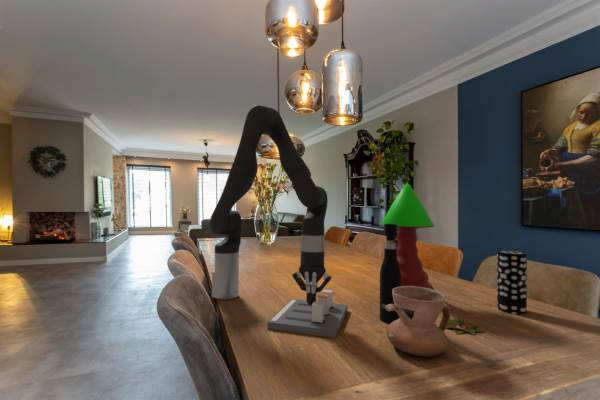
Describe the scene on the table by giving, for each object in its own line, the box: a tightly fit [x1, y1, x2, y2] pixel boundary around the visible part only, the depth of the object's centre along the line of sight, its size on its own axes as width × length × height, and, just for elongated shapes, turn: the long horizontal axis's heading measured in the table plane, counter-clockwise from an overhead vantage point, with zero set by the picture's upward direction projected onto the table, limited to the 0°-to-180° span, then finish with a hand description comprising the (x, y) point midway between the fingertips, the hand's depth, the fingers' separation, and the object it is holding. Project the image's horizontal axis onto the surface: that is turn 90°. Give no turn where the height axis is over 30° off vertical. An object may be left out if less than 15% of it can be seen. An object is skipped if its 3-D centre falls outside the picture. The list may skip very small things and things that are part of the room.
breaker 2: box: [321, 289, 334, 308], centre depth 100 cm, size 3×3×5 cm
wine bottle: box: [379, 224, 401, 325], centre depth 95 cm, size 6×6×30 cm
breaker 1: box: [312, 300, 325, 323], centre depth 87 cm, size 3×3×5 cm
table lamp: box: [380, 182, 435, 290], centre depth 117 cm, size 20×20×45 cm
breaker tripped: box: [317, 293, 329, 315], centre depth 94 cm, size 3×3×5 cm
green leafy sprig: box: [438, 311, 485, 336], centre depth 89 cm, size 12×12×5 cm
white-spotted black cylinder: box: [496, 249, 528, 316], centre depth 104 cm, size 8×8×20 cm
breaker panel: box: [266, 298, 348, 339], centre depth 95 cm, size 20×22×2 cm
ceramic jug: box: [385, 286, 452, 358], centre depth 76 cm, size 18×14×14 cm
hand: (311, 304), depth 95 cm, fingers closed
